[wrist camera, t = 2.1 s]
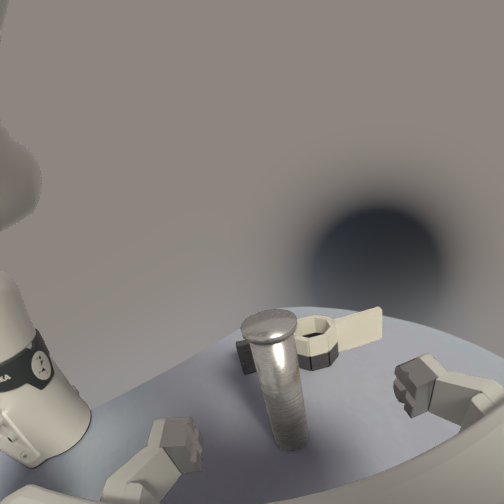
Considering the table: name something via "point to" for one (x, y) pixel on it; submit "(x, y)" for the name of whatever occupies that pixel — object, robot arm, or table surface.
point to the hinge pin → (279, 374)
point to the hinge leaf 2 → (338, 332)
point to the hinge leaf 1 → (303, 361)
